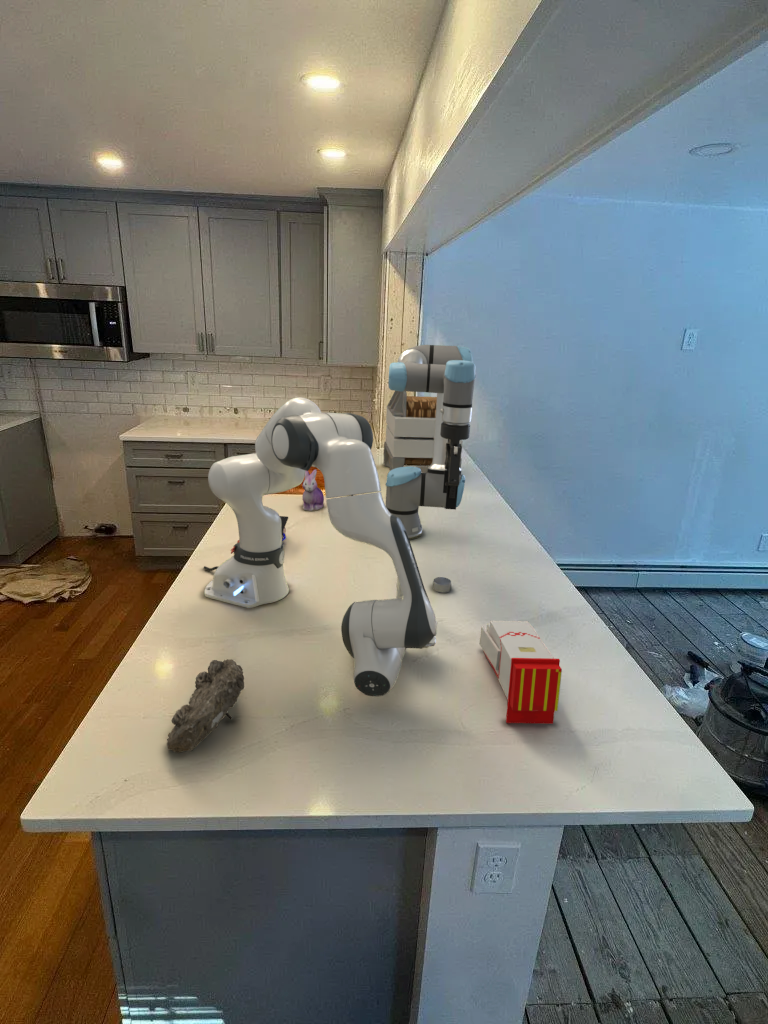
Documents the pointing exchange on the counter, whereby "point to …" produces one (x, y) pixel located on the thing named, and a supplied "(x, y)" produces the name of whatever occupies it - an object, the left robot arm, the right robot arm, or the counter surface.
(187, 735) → the fossil
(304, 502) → the figurine
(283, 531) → the figurine character
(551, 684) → the toy
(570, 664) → the counter surface
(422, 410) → the grey tall slatted box
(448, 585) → the lid
